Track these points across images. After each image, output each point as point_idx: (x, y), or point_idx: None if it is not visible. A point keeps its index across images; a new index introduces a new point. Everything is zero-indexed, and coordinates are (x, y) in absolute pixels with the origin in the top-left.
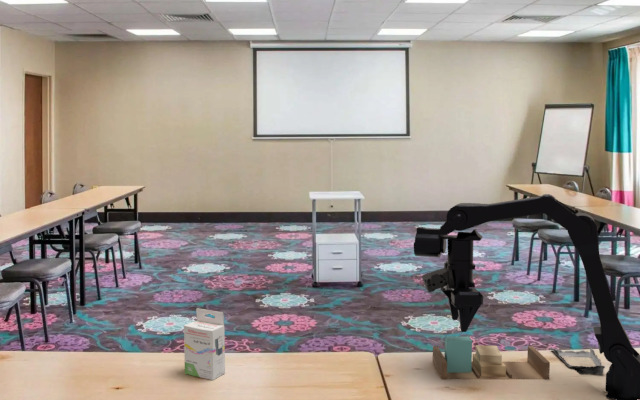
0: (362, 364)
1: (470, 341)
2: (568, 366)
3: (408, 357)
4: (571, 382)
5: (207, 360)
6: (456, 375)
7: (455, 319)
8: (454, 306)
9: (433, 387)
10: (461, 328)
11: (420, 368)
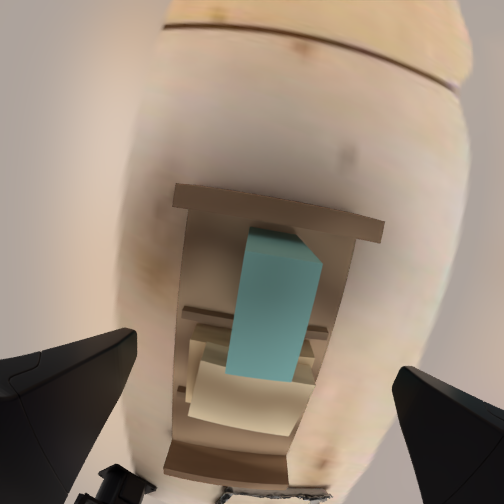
0: (391, 25)
1: (226, 364)
2: (238, 491)
3: (436, 170)
4: None
5: None
6: (216, 248)
7: (396, 382)
8: (442, 433)
9: (178, 152)
10: (106, 334)
11: (347, 166)
